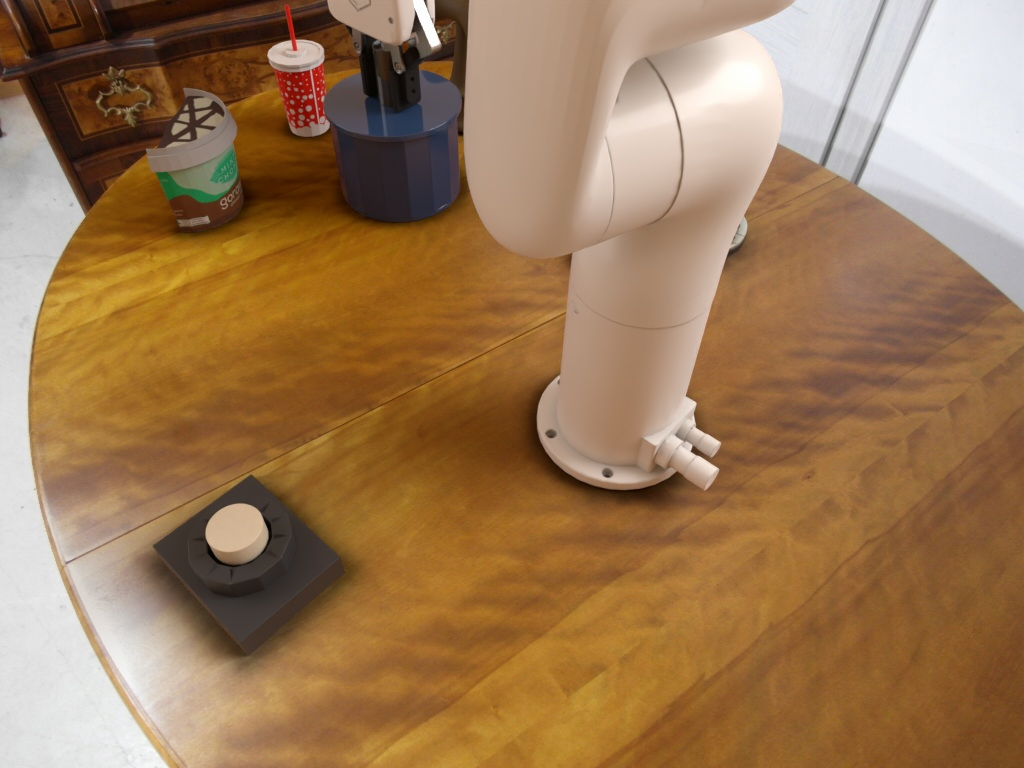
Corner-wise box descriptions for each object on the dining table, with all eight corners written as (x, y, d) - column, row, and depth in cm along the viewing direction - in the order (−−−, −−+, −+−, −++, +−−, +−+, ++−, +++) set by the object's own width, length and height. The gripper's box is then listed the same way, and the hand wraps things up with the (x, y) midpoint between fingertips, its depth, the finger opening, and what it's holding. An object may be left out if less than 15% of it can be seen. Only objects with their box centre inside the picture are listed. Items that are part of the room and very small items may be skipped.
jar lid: (490, 109, 78) (489, 43, 73) (389, 164, 71) (381, 96, 66) (397, 65, 84) (391, 1, 79) (296, 112, 77) (282, 45, 72)
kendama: (473, 150, 89) (469, -36, 74) (420, 117, 94) (406, -64, 79) (511, 131, 92) (514, -51, 77) (457, 100, 96) (451, -77, 81)
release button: (280, 539, 51) (274, 525, 50) (233, 576, 49) (226, 562, 48) (247, 507, 53) (241, 493, 51) (201, 542, 51) (193, 528, 50)
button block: (345, 572, 54) (336, 543, 51) (248, 656, 49) (232, 630, 46) (258, 490, 58) (245, 459, 55) (162, 561, 54) (142, 531, 51)
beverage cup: (319, 108, 95) (298, -12, 84) (346, 128, 92) (327, 7, 81) (274, 124, 92) (246, 2, 82) (300, 146, 89) (274, 22, 79)
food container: (239, 243, 77) (211, 154, 70) (177, 241, 77) (143, 152, 70) (267, 173, 85) (246, 86, 78) (211, 171, 85) (184, 85, 78)
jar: (483, 185, 84) (482, 104, 77) (398, 238, 78) (388, 155, 71) (404, 142, 90) (397, 63, 83) (319, 188, 84) (302, 106, 76)
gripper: (269, -128, 64) (309, 83, 78) (406, -78, 57) (423, 144, 71) (340, -146, 68) (365, 58, 82) (476, -102, 61) (479, 114, 75)
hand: (392, 96), depth 76 cm, fingers open, 3 cm apart
